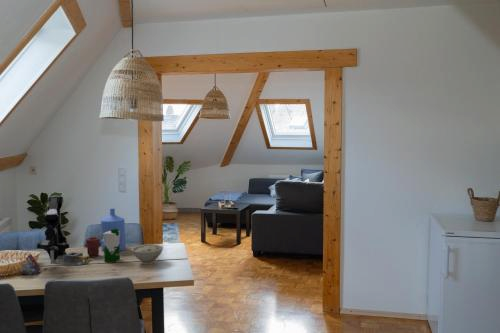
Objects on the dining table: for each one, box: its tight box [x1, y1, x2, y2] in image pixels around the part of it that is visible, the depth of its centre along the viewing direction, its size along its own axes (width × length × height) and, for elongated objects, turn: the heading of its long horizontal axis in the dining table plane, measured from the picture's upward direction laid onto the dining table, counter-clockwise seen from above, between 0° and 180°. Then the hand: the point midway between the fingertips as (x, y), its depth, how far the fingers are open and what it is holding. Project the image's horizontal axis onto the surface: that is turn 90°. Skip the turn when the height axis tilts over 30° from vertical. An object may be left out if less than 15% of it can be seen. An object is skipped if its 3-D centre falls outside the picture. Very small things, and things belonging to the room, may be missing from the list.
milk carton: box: [102, 229, 121, 263], centre depth 303 cm, size 9×9×20 cm
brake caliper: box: [18, 253, 41, 276], centre depth 278 cm, size 11×11×12 cm
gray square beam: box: [50, 250, 57, 265], centre depth 291 cm, size 2×2×8 cm
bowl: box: [131, 244, 164, 265], centre depth 298 cm, size 19×19×10 cm
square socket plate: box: [54, 251, 93, 266], centre depth 301 cm, size 19×12×5 cm, turn 75°
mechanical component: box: [84, 236, 102, 258], centre depth 315 cm, size 12×10×10 cm
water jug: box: [100, 208, 126, 252], centre depth 331 cm, size 16×16×28 cm
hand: (53, 259), depth 291 cm, fingers closed on gray square beam, 2 cm apart
